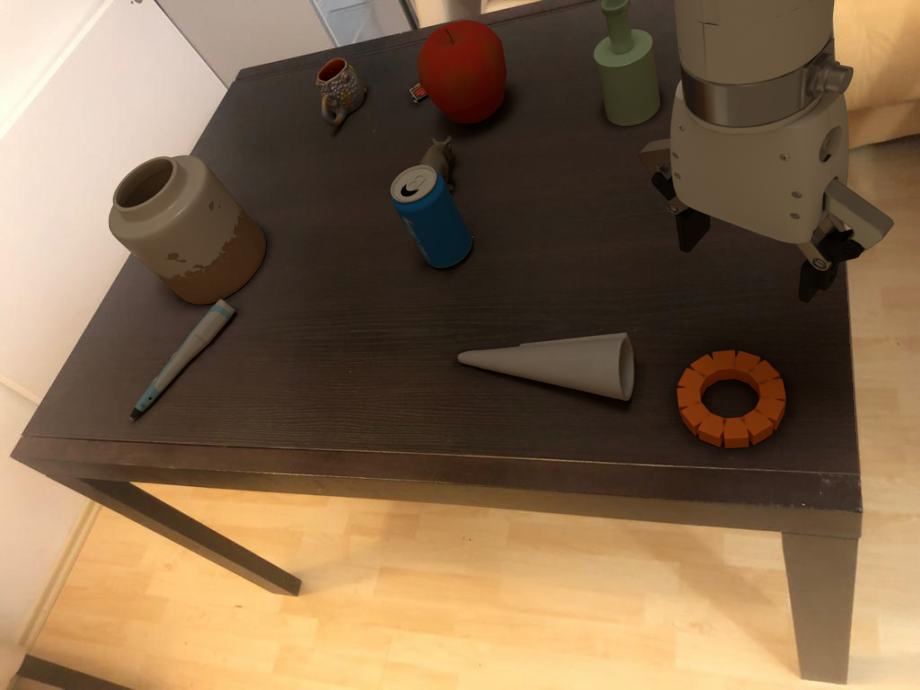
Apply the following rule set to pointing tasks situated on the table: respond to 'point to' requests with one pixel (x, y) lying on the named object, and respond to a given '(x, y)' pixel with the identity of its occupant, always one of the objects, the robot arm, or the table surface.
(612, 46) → the bottle
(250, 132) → the table surface
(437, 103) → the apple
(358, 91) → the mug
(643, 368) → the table surface
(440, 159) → the rhino figurine
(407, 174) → the beverage can
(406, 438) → the table surface
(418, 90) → the matchbox
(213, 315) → the pen
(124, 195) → the vase
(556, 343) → the long tapered cone
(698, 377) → the rubber ring
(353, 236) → the table surface
